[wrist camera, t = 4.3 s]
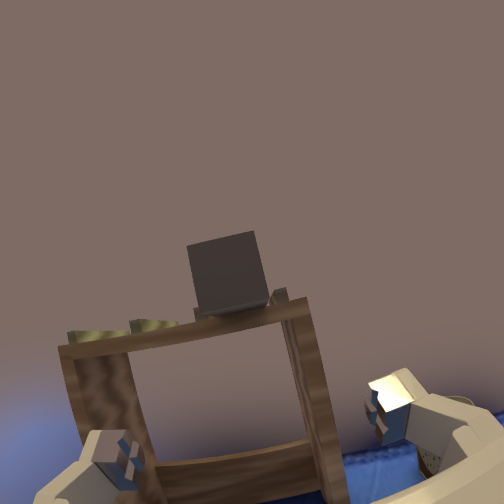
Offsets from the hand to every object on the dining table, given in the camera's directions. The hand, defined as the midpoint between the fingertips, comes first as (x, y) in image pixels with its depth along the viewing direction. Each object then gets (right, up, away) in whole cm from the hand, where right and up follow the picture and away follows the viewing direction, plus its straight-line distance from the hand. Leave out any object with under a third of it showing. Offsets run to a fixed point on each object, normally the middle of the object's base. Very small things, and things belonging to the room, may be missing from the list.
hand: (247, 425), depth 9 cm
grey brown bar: (-1, 0, +20) cm, 20 cm away
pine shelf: (-1, -27, +18) cm, 32 cm away
